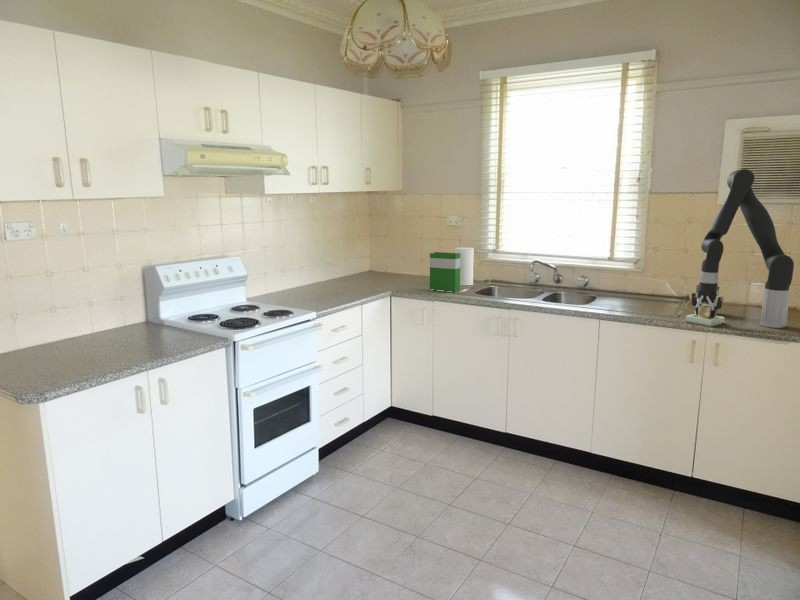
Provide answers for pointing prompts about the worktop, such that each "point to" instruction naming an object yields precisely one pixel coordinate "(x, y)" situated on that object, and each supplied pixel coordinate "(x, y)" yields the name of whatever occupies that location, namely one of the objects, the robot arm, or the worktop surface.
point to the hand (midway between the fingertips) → (705, 316)
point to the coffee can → (705, 302)
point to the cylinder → (466, 265)
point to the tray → (704, 320)
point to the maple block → (704, 312)
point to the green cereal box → (445, 271)
